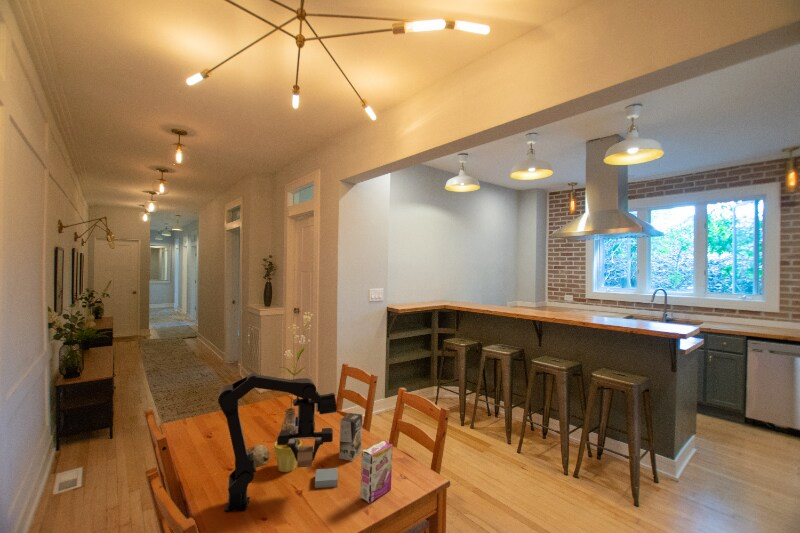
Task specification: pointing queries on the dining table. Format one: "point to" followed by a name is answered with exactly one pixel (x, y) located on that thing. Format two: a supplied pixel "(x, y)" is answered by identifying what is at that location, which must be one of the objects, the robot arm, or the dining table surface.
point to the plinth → (326, 478)
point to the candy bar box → (376, 471)
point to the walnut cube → (305, 456)
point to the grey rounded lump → (259, 454)
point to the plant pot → (285, 457)
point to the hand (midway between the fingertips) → (305, 460)
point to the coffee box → (350, 436)
